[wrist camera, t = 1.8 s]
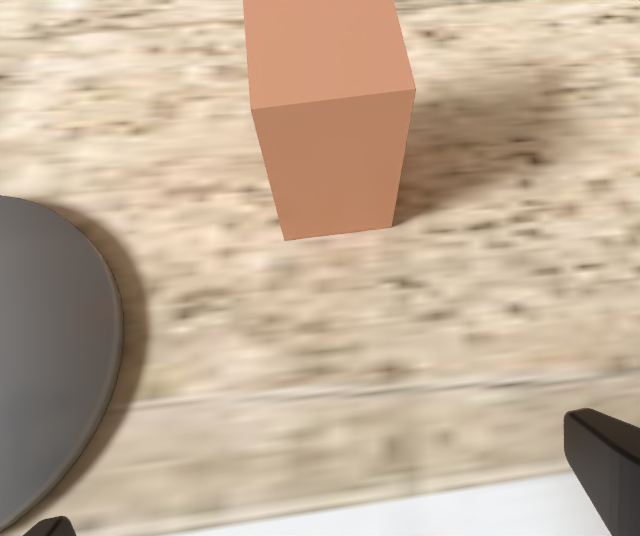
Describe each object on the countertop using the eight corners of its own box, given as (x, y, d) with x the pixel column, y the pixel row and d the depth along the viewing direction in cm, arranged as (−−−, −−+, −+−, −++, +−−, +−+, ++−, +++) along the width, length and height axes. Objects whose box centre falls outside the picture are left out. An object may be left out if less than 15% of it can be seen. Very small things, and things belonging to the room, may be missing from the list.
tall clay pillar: (374, 141, 28) (387, -22, 19) (391, 227, 26) (415, 88, 17) (276, 153, 28) (242, -4, 19) (284, 240, 26) (250, 109, 17)
